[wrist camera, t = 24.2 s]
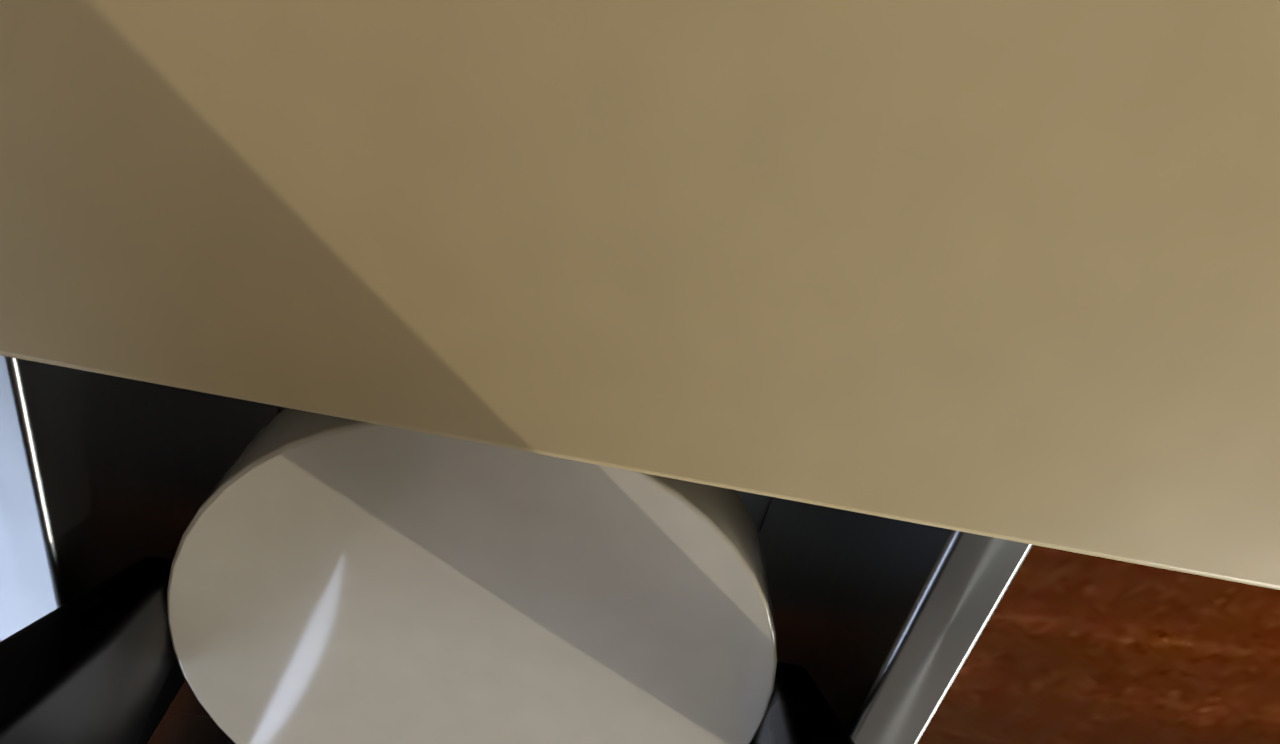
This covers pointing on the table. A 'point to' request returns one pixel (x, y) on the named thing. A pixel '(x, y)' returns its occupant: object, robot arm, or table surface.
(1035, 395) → the tan cardboard box
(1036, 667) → the table surface
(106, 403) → the drawer
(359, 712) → the cylinder
